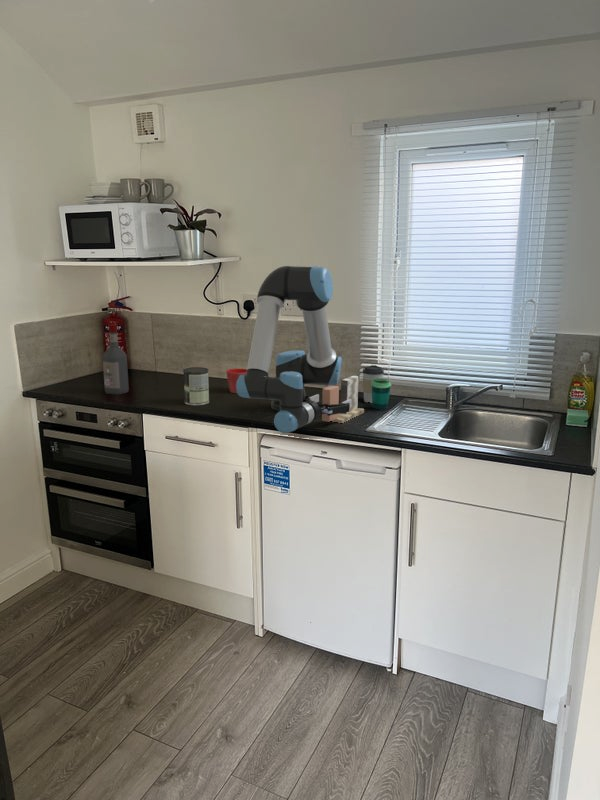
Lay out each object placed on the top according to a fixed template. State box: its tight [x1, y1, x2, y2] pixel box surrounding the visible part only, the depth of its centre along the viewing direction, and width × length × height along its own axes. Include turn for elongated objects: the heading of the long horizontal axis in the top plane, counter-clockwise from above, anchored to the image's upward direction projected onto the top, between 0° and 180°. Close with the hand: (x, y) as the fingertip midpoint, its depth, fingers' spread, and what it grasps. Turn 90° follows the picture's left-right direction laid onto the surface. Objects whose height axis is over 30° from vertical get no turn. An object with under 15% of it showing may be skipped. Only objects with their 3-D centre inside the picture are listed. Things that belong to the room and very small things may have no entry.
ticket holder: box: [331, 375, 365, 424], centre depth 238 cm, size 19×8×14 cm, turn 149°
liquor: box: [102, 324, 130, 396], centre depth 271 cm, size 9×9×30 cm
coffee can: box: [182, 366, 210, 406], centre depth 257 cm, size 10×10×14 cm
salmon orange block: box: [321, 385, 340, 423], centre depth 228 cm, size 7×3×12 cm, turn 150°
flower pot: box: [226, 368, 247, 394], centre depth 277 cm, size 11×11×10 cm
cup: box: [371, 377, 392, 410], centre depth 251 cm, size 8×8×12 cm
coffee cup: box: [362, 364, 385, 404], centre depth 262 cm, size 9×9×15 cm
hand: (334, 400), depth 230 cm, fingers open, 13 cm apart
